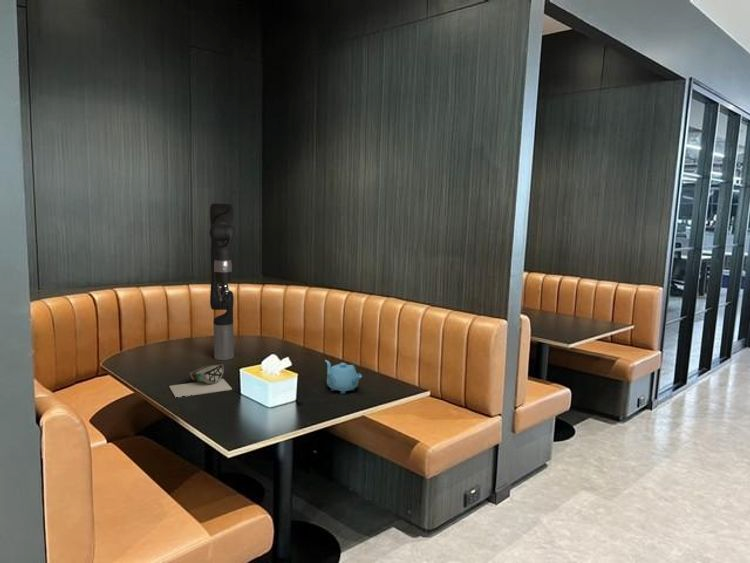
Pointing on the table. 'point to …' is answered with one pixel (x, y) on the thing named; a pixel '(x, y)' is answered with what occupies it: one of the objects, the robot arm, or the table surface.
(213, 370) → the food container
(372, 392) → the table surface
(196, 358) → the table surface
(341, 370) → the teapot
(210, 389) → the mat
